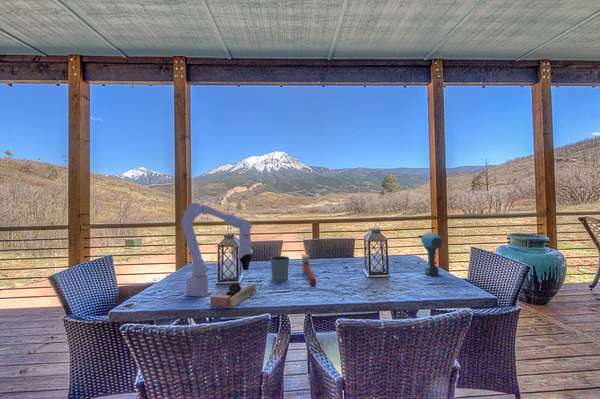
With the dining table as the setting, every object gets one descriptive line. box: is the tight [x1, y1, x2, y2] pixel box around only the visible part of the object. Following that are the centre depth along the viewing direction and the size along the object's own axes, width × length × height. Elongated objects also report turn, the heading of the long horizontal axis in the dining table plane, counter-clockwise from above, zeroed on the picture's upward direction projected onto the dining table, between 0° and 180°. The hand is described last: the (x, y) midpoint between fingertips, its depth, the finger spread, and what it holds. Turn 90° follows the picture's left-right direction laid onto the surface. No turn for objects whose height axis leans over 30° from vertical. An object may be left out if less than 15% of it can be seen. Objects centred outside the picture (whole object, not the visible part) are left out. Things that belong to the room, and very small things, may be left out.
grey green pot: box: [270, 255, 290, 283], centre depth 169 cm, size 10×10×12 cm
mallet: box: [301, 253, 317, 286], centre depth 170 cm, size 11×4×30 cm
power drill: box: [418, 232, 443, 277], centre depth 175 cm, size 28×9×23 cm, turn 179°
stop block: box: [210, 293, 231, 308], centre depth 130 cm, size 8×3×4 cm, turn 74°
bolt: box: [225, 282, 242, 297], centre depth 139 cm, size 6×5×15 cm
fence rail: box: [228, 283, 256, 309], centre depth 139 cm, size 2×23×4 cm, turn 164°
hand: (245, 269), depth 154 cm, fingers closed
